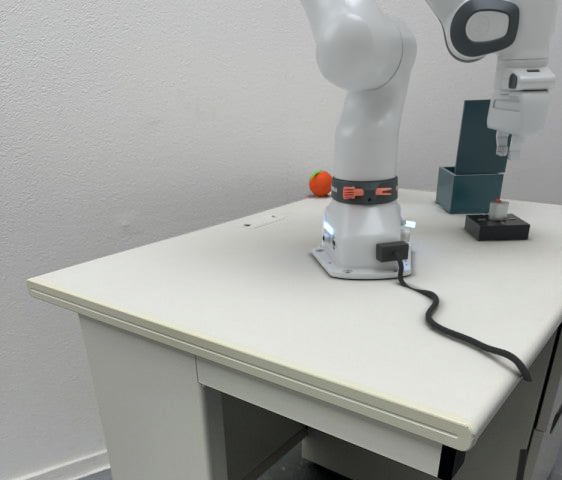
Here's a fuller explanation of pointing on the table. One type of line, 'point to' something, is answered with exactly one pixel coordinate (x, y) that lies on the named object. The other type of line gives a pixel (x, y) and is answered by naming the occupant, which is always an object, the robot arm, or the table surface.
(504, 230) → the control panel
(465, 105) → the box lid
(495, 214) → the knob
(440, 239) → the table surface
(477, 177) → the teal open box
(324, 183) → the clementine
